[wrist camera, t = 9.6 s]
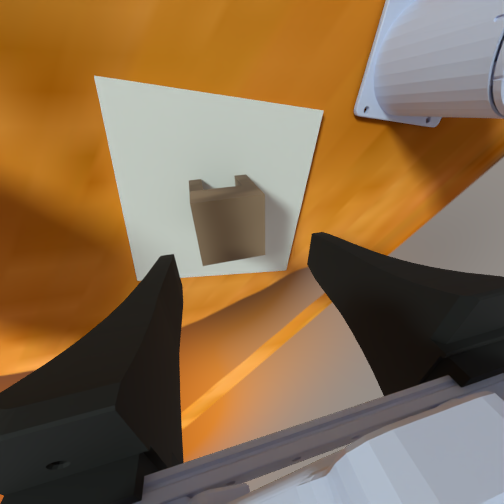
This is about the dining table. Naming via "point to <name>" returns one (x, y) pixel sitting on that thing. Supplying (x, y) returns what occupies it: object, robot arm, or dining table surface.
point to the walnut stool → (228, 220)
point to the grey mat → (203, 167)
